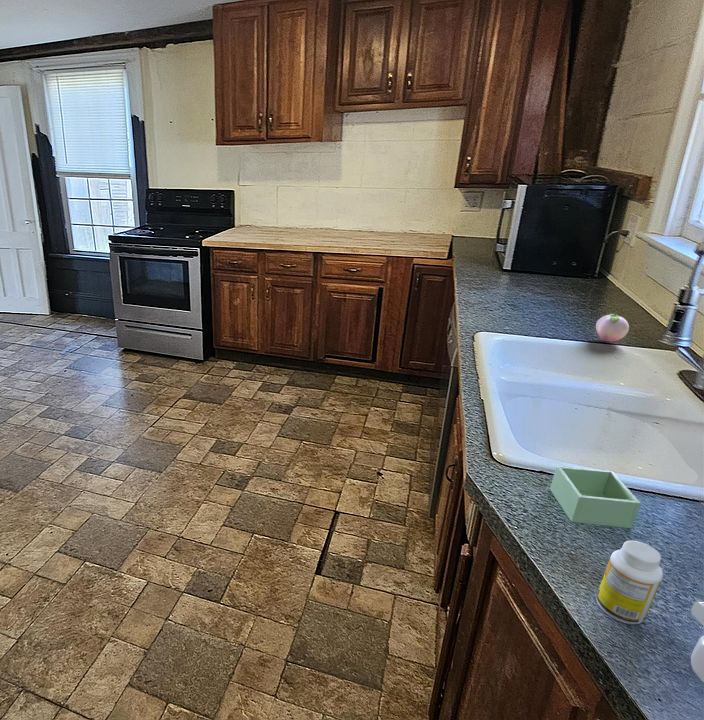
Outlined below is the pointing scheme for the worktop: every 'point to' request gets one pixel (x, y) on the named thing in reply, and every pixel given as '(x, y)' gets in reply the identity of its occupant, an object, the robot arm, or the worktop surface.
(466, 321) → the worktop surface
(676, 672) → the worktop surface
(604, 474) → the bin
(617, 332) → the decorative fruit
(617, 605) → the supplement bottle
